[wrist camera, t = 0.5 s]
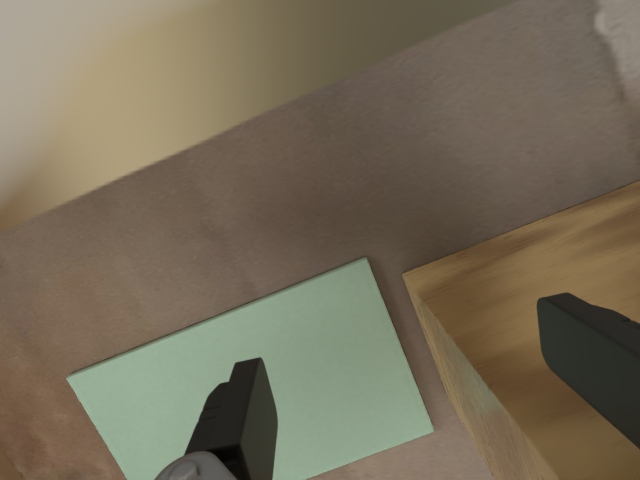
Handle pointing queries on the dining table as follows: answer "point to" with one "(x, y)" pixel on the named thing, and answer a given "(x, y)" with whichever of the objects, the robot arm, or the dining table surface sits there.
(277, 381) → the mat
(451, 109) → the dining table surface
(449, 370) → the stand
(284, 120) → the dining table surface
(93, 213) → the dining table surface
